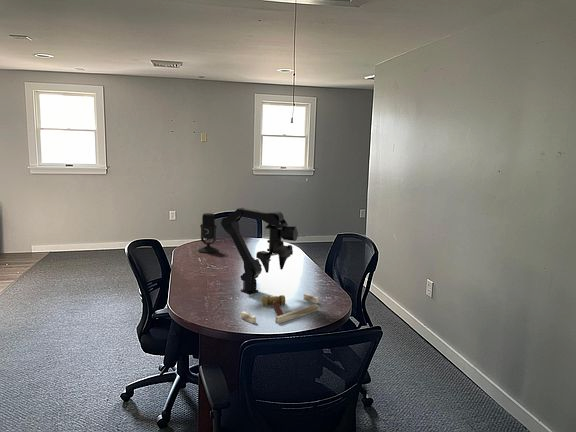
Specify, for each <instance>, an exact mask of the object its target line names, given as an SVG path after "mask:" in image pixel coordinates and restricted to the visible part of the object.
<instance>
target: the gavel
mask: <svg viewBox="0 0 576 432" xmlns="http://www.w3.org/2000/svg"><path fill="white" fill-rule="evenodd" d="M270 305H271V306H272V307H273V309H274V310H275V313H276V315H277V316H280V315H283V314H285V313H284V312H283V310H282V308H281V307H280V306H281V305H282V306H285V305H286V295H283V294H281V295H279V296H277V295H275V296H267V295H262V296H261V306H262V307H268V306H270Z"/></svg>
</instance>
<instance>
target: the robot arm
mask: <svg viewBox="0 0 576 432" xmlns="http://www.w3.org/2000/svg"><path fill="white" fill-rule="evenodd" d="M243 218H249V219H253V220H258V221H262V222H265V223H266V224H267V225H266V226H265V227H264V228H265V229H266V230H267V229H268V230H269V239H267V243H268V248H267V249H266V250H267V251H265V250H262V251H257V252H256V254H255V256H256V259H255V258H254V257H253V255H252V254H251V252H250V250H249V248H248V246H247V244H246V242H245V240H244V238H243V236H242V234H241V232H240V223H239V222H240V221H241V220H242V219H243ZM285 219H286V218H284V214H283V213H282V212H281V211H263V210H262V211H260V210H256V209H251V208H245V207H240V208H239V207H238V208H236V210H234V212H231V213H230V214H229V215H227V216H225V217H223V218H222V219H221V222H220V226H221V228H223V230H224V232H226V234H228V235H229V236H230V238H231V239H232V241H233V244H234V246H235V248H236V249H237V252H238V253H239V256H240V258H241V260H242V262H243V270H244V272H243V273H242V274H241V275H240V276H239V277H240V280H241V281H242V288H241V289H240V292H243V293H246V294H248V295H249V294H254V293H256V292H257V293H258V292H259V291H260V290H258V289H257V285H258V284H257V279H259V275H260V274H262V270H263V268H264V271H265V273H268V274H269V270H270V269H269V268H270V262H271V261H272V259H271V258H272V256H277V255H278V262H279V269H280V270H281V271H283V269H284V267H285V264H286V261H287V260H288V259H289V258H290V257H291V256H292V255H294V254H293V253H294V251H293V246H292V244H288V245H284V244H285V243H284V241H291V242H292V241H295V242H296V241H297V239H298V236H299V232H298V229H297V225H289V224H288V223H287V221H286V220H285ZM282 239H283V240H284V241H283V240H282ZM260 262H261V263H260ZM262 267H263V268H262Z"/></svg>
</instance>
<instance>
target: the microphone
mask: <svg viewBox="0 0 576 432" xmlns="http://www.w3.org/2000/svg"><path fill="white" fill-rule="evenodd" d="M215 220H216V219H215V213H211V212H209V213H207V212H206V213H205V212H204V213H202V219H201V221H202V223H200V225H199V226H200V241H201V242H202V243H203V244H204V245H206V246H203V247H200V248H198V249H197V252H198V253H200V254H216V253H218V252H219V248H217V247H213V246H211V245H212V244H214V243H215V242H216V240H217V225H216V223H215ZM206 240H213V241H212V242H210V241H209V242H208V241H206Z"/></svg>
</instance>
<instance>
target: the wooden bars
mask: <svg viewBox="0 0 576 432" xmlns="http://www.w3.org/2000/svg"><path fill="white" fill-rule="evenodd" d="M303 300H305V301H307V302H310V303H314V304H312V305H308V306H306V307H303V308H299V309H296V310H293V311H289V312H287V313H284V314H283V315H280V316H278V315H277V316H275V321H274V322H275V324H277V325H278V324H281V323H284V322H287V321H291V320H293V319H297V318H299V317H303V316H305V315H309V314H312V313H315V312H317V311H319V305H318V304H319V301H320V299H319V297H318V296H315V295H312V294H308V293H303ZM240 319H242V320H245V321H247V322H249V323H250V324H256V323H257V316H255V315H254V314H251V313H248V312H246V311H244V310H243V311H240Z"/></svg>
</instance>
